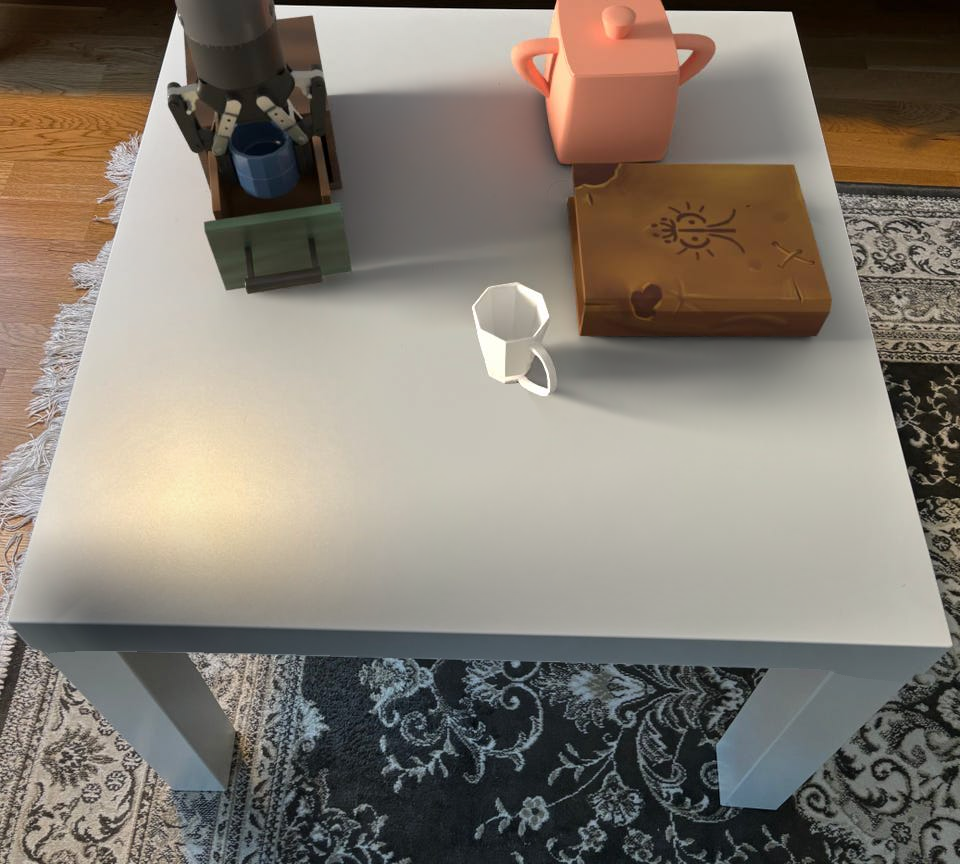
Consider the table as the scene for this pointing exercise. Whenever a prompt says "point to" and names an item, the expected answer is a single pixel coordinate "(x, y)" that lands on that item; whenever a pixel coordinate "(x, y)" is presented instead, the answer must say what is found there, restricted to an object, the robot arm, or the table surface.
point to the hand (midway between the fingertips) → (268, 172)
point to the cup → (514, 334)
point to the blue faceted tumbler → (264, 159)
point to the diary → (694, 251)
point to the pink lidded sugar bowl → (611, 78)
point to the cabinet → (299, 56)
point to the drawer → (277, 232)
